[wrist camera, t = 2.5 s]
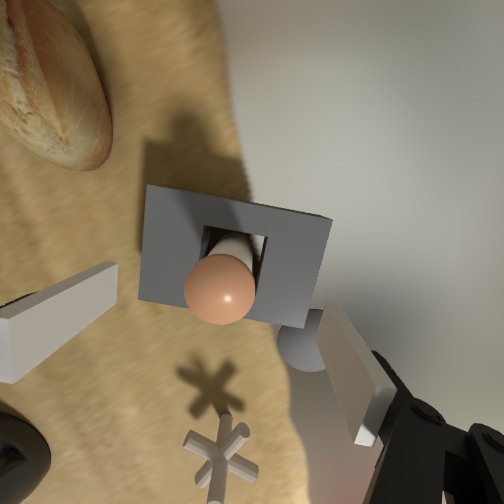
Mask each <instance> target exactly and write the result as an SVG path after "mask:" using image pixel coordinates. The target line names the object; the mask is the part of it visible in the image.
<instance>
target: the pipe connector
mask: <svg viewBox="0 0 504 504" xmlns="http://www.w3.org/2000/svg"><path fill="white" fill-rule="evenodd" d="M232 421H233V418H232V416H231V415H229V414H223V415H222V416H221V417H220V423H219V429H218V435H217V442H216V443H215V442H213V441H212V440H210V439H208V438H206V437H204V436H202V435H200V434H198V433H197V432H195V431H193V430H190V431H189V432H188V434H187V436H186V438H185V440H184V443H183V447H184V448H186V449H188V450H190V451H192V452H194V453H196V454H198V455H200V456H201V457H203V458H205V459H207V461H206V462H205V464H204V465H203V466H202V467H201V468H200V469H199V471H198V472H197V473H196V475H195V483H196V485H197V486H198V487H199V488H204V487H205V486H206V485H207V484H208V483H209V482H210V486H209V492H208V498H207V504H224V499H225V489H226V479H227V470H228V471H230V472H232V473H234V474H236V475H238V476H240V477H242V478H244V479H245V480H247V481H249V482H251V483H254V482H255V481H256V479H257V476H258V472H259V468H258V465H256V464H255V463H253V462H251V461H249V460H247V459H245V458H243V457H241V456H240V455H238V454H236V453H235V452H236V451H237V450H238V449H239V448H240V447H241V445H242V444H243V443H244V442H245V441H246V440H247V439H248V438H249V436H250V430H249V428H248V426H247V425H246V424H245V423H243V422H240V423H239V424H238V425H237V426H236V427H235V428H234V430H233V431H232ZM231 431H232V432H231Z"/></svg>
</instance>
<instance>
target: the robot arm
mask: <svg viewBox="0 0 504 504" xmlns="http://www.w3.org/2000/svg"><path fill="white" fill-rule="evenodd" d="M117 277H118V263H114V262H109V261H105V262H102V263H100V264H98V265H96V266H94V267H91V268H89V269H87V270H85V271H83V272H80V273H78V274H76V275H74V276H72V277H69V278H67V279H65V280H63V281H61V282H58V283H56V284H54V285H52V286H50V287H47V288H45V289H43V290H41V291H38V292H34V293H30V294H27V295H24V296H22V297H20V298H18V299H15V301H11V302H9V303H6V304H5V305H2V306H0V382H6V383H11V384H14V383H15V382H17V381H18V380H19V379H21V378H22V377H23V376H24V375H26V374H27V373H28V372H29V371H31V370H32V369H33V368H35V367H36V366H37V365H38V364H40V363H41V362H42V361H43V360H45V359H46V358H47V357H49V356H50V355H51V354H52V353H54V352H55V351H56V350H57V349H59V348H60V347H61V346H63V345H64V344H65V343H66V342H68V341H69V340H70V339H71V338H73V337H74V336H75V335H77V334H78V333H79V332H80V331H82V330H83V329H84V328H85V327H87V326H88V325H89V324H91V323H92V322H93V321H94V320H96V319H97V318H98V317H99V316H101V315H102V314H103V313H105V312H106V311H107V310H108V309H110V308H111V307H112V306H113V305H115V304H116V299H117ZM315 341H316V344H317V346H318V349H319V351H320V354H321V357H322V359H323V362H324V365H325V367H326V370H327V373H328V375H329V378H330V381H331V383H332V386H333V389H334V391H335V394H336V397H337V399H338V402H339V405H340V407H341V410H342V413H343V415H344V418H345V421H346V423H347V426H348V429H349V431H350V434H351V437H352V439H353V441H354V444H360V445H366V446H372V447H373V446H374V444H375V442H376V439H377V437H378V435H379V437H380V439H381V441H382V442H383V445H384V447H383V449H382V451H381V454H380V456H379V458H378V460H377V463H376V465H375V471H374V473H373V476H372V479H371V482H370V484H369V488H368V490H367V493H366V496H365V498H364V501H363V504H442V492H443V491H444V494H445V499H446V503H447V504H504V435H502V433H500V432H499V431H497V430H494V429H492V428H490V427H489V426H486V425H483V424H479V423H474V424H473V425H471V427H470V429H469V431H468V432H466V431H464V430H461V429H459V428H456V427H454V426H451V425H449V424H447V423H446V421H445V420H444V418H443V417H442V415H441V414H440V413H439V412H438V411H437V410H436V409H435V408H433V407H432V406H430V405H429V404H427V403H426V402H424V401H422V400H420V399H417V398H414V397H413V395H412V394H411V393H410V391H409V390H408V389H407V387H406V386H405V385H404V383H403V382H402V381H401V379H400V378H399V377H398V376H397V375H396V373H395V372H394V370H393V369H391V366H390V365H389V363H388V362H387V361H386V359H385V358H383V357H382V356H381V355H380V354H379V353H377V352H376V351H372V350H370V349H369V348H368V346H367V345H366V344H365V342H364V341H363V339H362V338H361V336H360V335H359V334H358V332H357V331H356V329H355V328H354V326H353V325H352V323H351V322H350V321H349V319H348V318H347V316H346V315H345V313H344V312H343V311H342V309H341V308H340V306H339V305H338V304H335V303H330V302H326V303H325V307H324V310H323V314H322V317H321V320H320V324H319V327H318V331H317V334H316V338H315ZM50 464H51V456H50V452H49V449H48V446H47V444H46V443H45V441H44V440H43V438H42V437H41V436H40V435H39V434H38V433H37V432H36V431H35V430H34V429H33V428H32V427H30V426H29V425H27V424H26V423H24V422H23V421H21V420H19V419H17V418H14V417H12V416H9V415H5V414H1V413H0V504H20V503H21V502H22V501H23V500H24V499H26V498H27V497H28V496H29V495H30V494H31V493H32V492H33V491H34V490H35V489H36V487H37V486H38V485H39V483H40V482H41V481H42V479H43V478H44V477H45V475H46V474H47V472H48V470H49V468H50Z"/></svg>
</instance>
